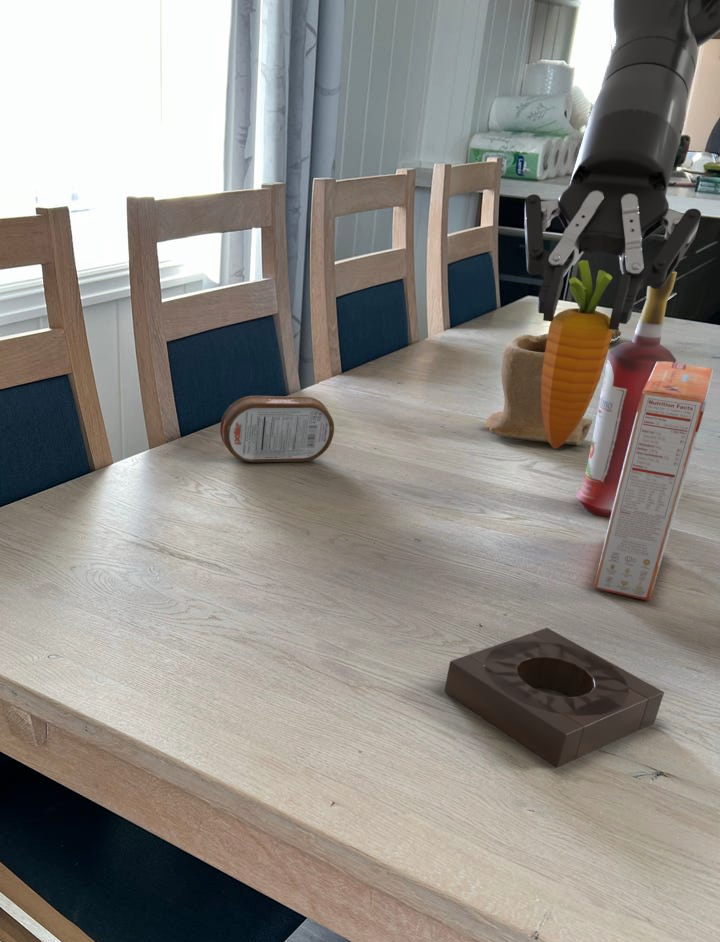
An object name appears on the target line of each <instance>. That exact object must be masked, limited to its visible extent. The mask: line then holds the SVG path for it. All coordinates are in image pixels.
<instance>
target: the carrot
mask: <svg viewBox="0 0 720 942" xmlns="http://www.w3.org/2000/svg"><path fill="white" fill-rule="evenodd" d="M577 269H578V273H579V278H580V279H578V278H577V277H575V276H574V277H570V278H569V279H568V282H569V285H570V286H569V288H568V289H569V291H570V292H571V295H572V297H573V298H574V301H575V302H576V304H577V306H578V308H577V307H576V308H574V307H573V308H567V309H564V310H562V311H560V312H558V313H557V314H555V315H554V318H553V321H552V322H551V321H550V324H549V327H548V331H547V334H548V337H547V343H546V349H545V355H544V362H543V369H542V384H541V411H542V417H543V423H544V427H545V431H546V434H547V437H548V441H549V442H548V443H549V444H550V445H551V447H552V448H553V449H554V450H557V449H558V448H560V447H561V446H563V445H565V444H564V442H565V441H566V440H567V439H568V437H569V436H570V435H571V434H572V432H573V431H574V430H575V429H576V427H577V425H578V424H579V422H580V421H581V419H582V418H584V416H585V415H586V413H587V410H588V407H589V406H590V404H591V401H592V400H593V397H594V395H595V392H596V390H597V388H598V385H599V382H600V380H601V377H602V374H603V369H604V367H605V364H606V361H607V360H606V359H607V357H608V356H607V355H608V354H609V350H610V349H609V347H610V345H611V344H610V341H611V337H612V333H613V330H612V329H609V324H610V318H611V316H610V317H609V316H608V315H607V314H605V313H603V312H601V311H598V310H596V309H597V307H598V304H599V302H600V300H601V299H602V296H603V294H604V292H605V290H606V288H607V287H608V285H609V284H610V283H611V281H612V279H613V277H612V275H611V274H610V273H607V272H606V271H605V270H601V269H599V270H598V272H597V276H596V281H595V282H596V283H595V288H594V291H593V280H592V273H591V268H590V265H589V260H583V259H582V260H580V261H578V262H577Z"/></svg>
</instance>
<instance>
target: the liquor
mask: <svg viewBox="0 0 720 942" xmlns="http://www.w3.org/2000/svg"><path fill="white" fill-rule="evenodd" d="M677 274H678V272H677V271H675V270H674V271H673V272H672V274H671V275H670V277H669V278H668V280H667V282H666V283H665V285H664V286H663V287H662V288H659V289H654V288H651V287H650V286H647V287H646V298H645V301H644V305H643V307H642V311H641V313H640V317H639V319H638V322H637V325H636V328H635V331H634V334H633V336H632V339H631V340H629V341H626V342H621V343H619V344H618V345H616V346H614V347H612V348H611V349H609V350H608V354H607V355H608V356H607V360H606V366H605V370H604V376H603V379H602V385H601V390H600V394H599V395H600V396H599V402H598V407H597V413H596V418H595V424H594V429H593V434H592V440H591V445H590V449H589V455H588V459H587V463H586V469H585V474H584V478H583V482H582V486H581V489H579V490H578V492H576V498H577V500H578V501H579V502H580V503H581V505H582V506H583V508H584V509H585V510H586V511H587V512H589V513H592V514H594V515H598V516H601V517H602V516H603V517H611V513H612V509H613V505H614V501H615V497H616V493H617V488H618V484H619V480H620V477H621V473H622V469H623V465H624V460H625V456H626V452H627V449H628V445H629V441H630V437H631V433H632V429H633V425H634V421H635V417H636V414H637V410H638V406H639V403H640V399H641V395H642V392H643V390H644V388H645V386H646V384H647V382H648V380H649V378H650V375H651V373H652V371H653V369H654V367H655V365H656V363H657V362H661V361H666V362H674V363H677V359H676V357H675V356H674V354H673V353H672V352H671V351H670V349H668V348H666V346H665V347H664V345H661V339H662V332H663V327H664V322H665V321H664V319H665V314H666V310H667V303H668V300H669V298H670V295H671V293H672V291H673V289H674V285H675V283H676V278H677Z"/></svg>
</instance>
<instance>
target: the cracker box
mask: <svg viewBox="0 0 720 942" xmlns="http://www.w3.org/2000/svg"><path fill="white" fill-rule="evenodd" d="M713 373H714V369H713V368H710V367H705V366H696V365H691V364H685V363H680V362H676V363H674V362H666V361H661V362H657V363H656V365H655V367H654V369H653V371H652V373H651V375H650V378H649V380H648V382H647V384H646V386H645V388H644V390H643V392H642V395H641V399H640V403H639V406H638V410H637V414H636V417H635V421H634V425H633V429H632V433H631V437H630V441H629V445H628V449H627V452H626V456H625V460H624V465H623V469H622V473H621V477H620V480H619V484H618V488H617V493H616V497H615V501H614V505H613V509H612V513H611V516H609V521H608V526H607V530H606V534H605V538H604V543H603V546H602V551H601V556H600V559H599V563H598V567H597V572H596V576H595V581H594V585H593V589H595V590H599V591H603V592H608V593H612V594H616V595H620V596H625V597H629V598H634V599H639V600H643V601H650V600H651V596H652V594H653V591H654V587H655V584H656V580H657V577H658V574H659V570H660V567H661V564H662V559H663V557H664V554H665V550H666V547H667V543H668V541H669V537H670V534H671V530H672V525H673V522H674V519H675V516H676V512H677V508H678V505H679V501H680V498H681V494H682V491H683V487H684V484H685V481H686V477H687V473H688V470H689V468H690V467H689V466H690V463H691V459H692V457H693V453H694V449H695V445H696V441H697V438H698V434H699V432H700V428H701V424H702V421H703V416H704V414H705V413H704V412H705V409H706V405H707V402H708V398H709V397H708V396H709V392H710V388H711V383H712V378H713Z"/></svg>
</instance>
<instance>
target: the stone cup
mask: <svg viewBox="0 0 720 942" xmlns="http://www.w3.org/2000/svg"><path fill="white" fill-rule="evenodd" d="M547 337H548V333H544V334H539V335H531V334H523V335H519V336H517V337H515V338H513V339H511V340H510V341H509V342H507V344H506V346H505V347H504V350H503V354H502V361H501V370H500V376H501V377H500V378H501V379H500V380H501V386H502V391H503V399H504V404H503V410H502V411H499V412H494V413H492V414H491V415H489V416H488V417H487V418H486V419H485V424H484V425H485V428H486V430H487V431H489V432H490V433H491V434H492V435H496V436H500V437H503V438H510V439H516V440H522V441H523V440H524V441H531V442H541V443H542V442H543V443H549V441H548V437H547V434H546V431H545V427H544V423H543V417H542V411H541V384H542V369H543V362H544V355H545V349H546V343H547ZM592 424H593V419H591V418H586V417H583V418H582V419H581V421H580V422H579V424H578V425H577V427H576V429H575V430H574V431H573V432H572V434H571V435H570V436H569V437H568V439H567V440H566V441H565V442H564V444H563V445H571V446H579V445H581V444H582V442H583V441H584V440H585V439H586V437H587V436H588V434H589V432H590V429H591V426H592Z"/></svg>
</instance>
